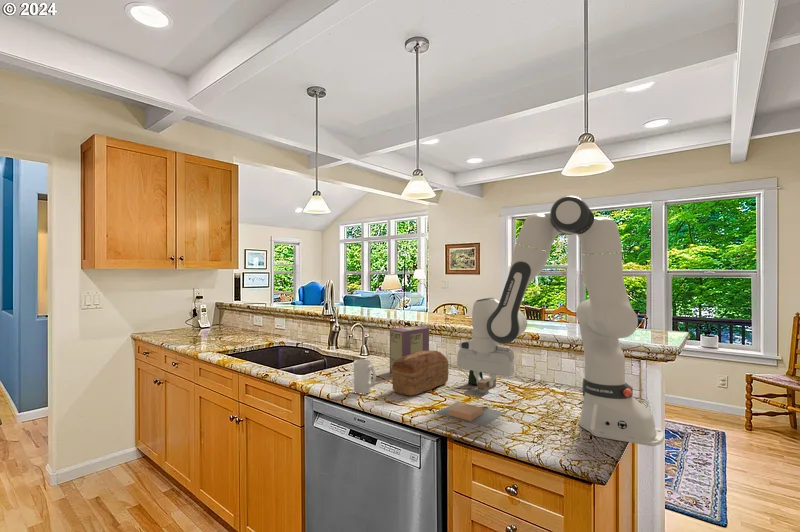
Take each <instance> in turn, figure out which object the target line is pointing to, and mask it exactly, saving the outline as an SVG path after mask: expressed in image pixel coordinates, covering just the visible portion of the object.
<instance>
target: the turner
mask: <svg viewBox="0 0 800 532" xmlns="http://www.w3.org/2000/svg"><path fill="white" fill-rule="evenodd" d="M490 379H491V377H490V376H488V377H486V378H483V380H481V381H479V382H477V385H476V388H475V387H471V388H469V389H467V390H464V391H463V395H466V396H471V397H474V398H482V397H484V396H486V395H488V394H490V392H489V391H490V390H492V389H494V388H496V387H497V377H495V379H494V381H493V386H492V387H490V386H487V381H488V380H490Z"/></svg>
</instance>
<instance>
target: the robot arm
mask: <svg viewBox="0 0 800 532" xmlns="http://www.w3.org/2000/svg"><path fill="white" fill-rule="evenodd" d="M550 208H551V209H550V212H549V213H548V214H542V213H534V214H530V215H528V216H527V217H526V218H525V220H524V222H523V224H522V226H521V229H520V231H519V233H518V235H517V238H516V241H515V244H514V245H515V246H514V249H513V253H512V258H511V262H510V267H509V273H508V277H507V279H506V282H505V285H504V286H503V287H504V288H503V291H502V294H501V297H500V300H498V299H497V298H496V297H487V298H481V299H477V300H476V301H474V302H473V306H472V313H471V325H472V333H471V338H469V339H467V340H463V341H460V342H459V343H458V347H459V349H458V351H457V358H456V365H457V367H458V368H459V369H463V370H466V371H467V370H468V371H470V370H472V371H474V376H475V377H476V379H477V382H479V381H481V380H484V378H483V379H481V378H480V375H479V373H480V372H482V373H483V374H489V377H491V379H490V380H488V381H487V386H490V387H492V386H493V381H494V379H495V378H497V376H501V377H507V378H510V377H511V376H513V375H514V374H515V365H514V362H515V361H514V358H515V356H514V351H513V350H512V349H510V348H509V347H502V346H499V344H501V345H506V344H507V345H508V344H511V343H512V342H514V341H515V340H516V338H518V337H519V336H520V335H522V334H523V333H524V332H525V330H526V329H527V328H528V327H527V326H528V320H527V317H526V315H525V313H524V312H522V311H521V310H520V308H521V306H522V302H523V299H524V297H525V293H526V291H527V288H528V287H529V285H530V284H531V282H532V281H533V280H534V279H535V278H536V277H538V275H539V274H541V273H542V271H543V269H544V268H545V265H546V264H547V261H548V259H549V256H550V254H551V250H552V245H553V243H554V242H555V239H556V238H557V236H566V235H570V236H572V235H576V236H578V238H579V241H580V247H581V266H582V268H581V269H582V270H581V271H582V281H583V283H584V285H585V288H586V291H587V294H588V298H587V299H585V300H583V301H580V303H579V304H578V305H577V308H576V310H575V311H576V312H575V315H576V319H577V321H578V324H579V330H580V337H581V341H582V346H583V356H584V365H583V366H584V368H583V369H584V377H583V378H582V397H583V401H582V408H581V414H580V417H579V420H578V426H579V427H581V428H582V429H584V430H586V431H588V432H589V433H590V434H591V435H592V436H594V437H597V438H602V439H608V440H615V441H619V442H620V441H621V442H625V443H631V444H637V445H643V446H649V447H656V446H659V445H661V444H662V443H663V442H664V440H665V432H664V431H663V430H662V429H661V428H660V427H656V422H655V418H654V416H653V413H652V412H651V411H650V410H649V409H648V408H647V407H646V406H644V405H643V404H642V403H641V402H640V401H639V400H637V399H636V398H634V397H633V394H634V393H633V390H634V389H633V387H634V386H633V384H631V385H629V384H628V383H627V382H626V367H625V365H626V357H625V354H624V352H623V350H622V347H621V344H620V341H619V339H626V338H628V337H630V336H632V335H633V334H634V333H635V331H637V329H638V325H639V318H638V315H637V313H636V311H634V308H633V307H632V304H631V302H630V298H629V296H628V292H627V289H626V285H625V280H624V269H623V268H624V267H623V253H622V252H623V250H622V243H621V241H622V240H621V235H620V232H619V228H618V225H617V223H616V222H615V220H614V219H611V218H609V217H604V216H599V217H598V216H595V214H594V213H593V211H592V210H591V209H590V207H589V206H588V204H587V203H586V202H585V200H583V199H582V198H580V197H579V196H575V195H566V196H563V197H560V198H558V199H557V200H556V201H555V202H554V203H553V204H552V206H551V207H550Z"/></svg>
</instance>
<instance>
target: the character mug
mask: <svg viewBox="0 0 800 532" xmlns="http://www.w3.org/2000/svg"><path fill="white" fill-rule="evenodd" d="M468 371H469V373H468V383H469V384H473V385H476V386H477V379H476V377H475V376H474V371H472V370H468ZM479 375H480V378H481V379H483V380H484V376H483V372H480V373H479Z"/></svg>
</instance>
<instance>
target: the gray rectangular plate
mask: <svg viewBox="0 0 800 532" xmlns="http://www.w3.org/2000/svg"><path fill="white" fill-rule="evenodd" d="M460 403H464V404H468V405H472V406H475V405H473V404H470V403H465V402H461V401H457V402H454V403H452V404H451V405H448V406H446V407H444V408H442V409H440V410H438V411H435V412H434V414H436V415H440V416H443V417H447V418H451V419H454V420H458V421H462V422H465V423H469V424H473V425H476V426H480V427H486V426H488V425H489V424H491V423H492V422H494V421H495V420H497V419H498V418H500V417H501V416H503V415H505V414H506V412H504V411H498V410H495V409H491V408H486V407H483V406H480V407H481V408H483V414H482V415H481V416H479V417H477V418H475V419H474V420H472V421H468V420H464V419H460V418H456V417H453V416H449V409H450V408H452V407H454V406H456V405H458V404H460ZM476 406H477V405H476ZM477 407H479V406H477Z"/></svg>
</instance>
